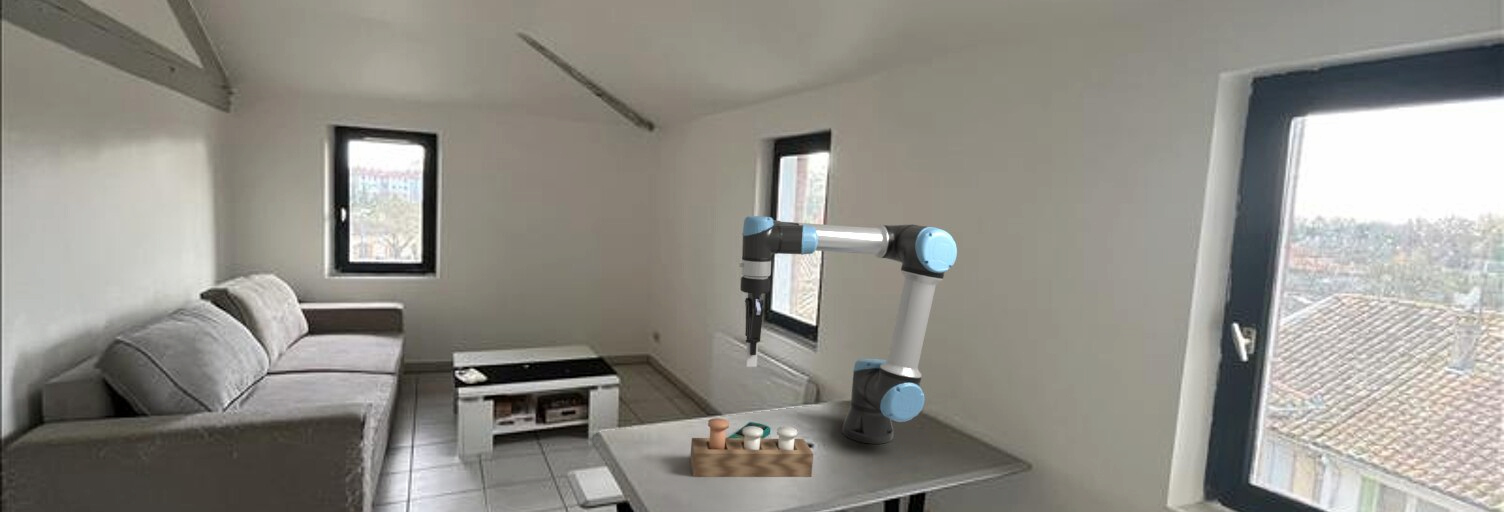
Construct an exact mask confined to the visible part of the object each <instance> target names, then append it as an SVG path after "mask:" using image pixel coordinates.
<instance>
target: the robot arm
mask: <svg viewBox="0 0 1504 512" xmlns="http://www.w3.org/2000/svg"><path fill="white" fill-rule="evenodd" d="M741 248H742V249H741V250H742V252H741V253H742V256H741V263H739V265H738V267H740V268H741V270H740V271H741V272H740V273H741V275H742V276H741V277H740V288H739V290H740V291H741V292H743V293H747V297H745V300H744V303H745V333H744V334H745V338H746V339H745V343H746V350H745V351H746V352H745V353H746V355H745V367H746V368H757V367H758V354H759V353H758V351H759V350H758V349H759V343H760V342H761V334H762V328H763V327H762V325H763V316H764V311H765V308H764V300H763V299H762V294H763V295H764V294H767V293H769V292H770V288H771V278H770V276H771V273H772V255H773V254H774V255H779V254H780V255H781V254H782V255H783V254H784V255H789V254H790V255H802V256H803V255H811V254H814V253H815V251H817V252H833V253H834V252H835V253H836V252H837V253H848V254H849V253H852V254H866V255H874V256H875V258H878V259H887V260H892V261H896V262H899V263H901V268H900V272H901V274H902V275H903V278H904V280H903V285H902V288H901V289H902V290H901V295H900V298H899V304H898V308H897V313H896V318H895V322H894V327H893V331H892V336H891V340H890V345H889V350H888V354H887V357H886V359H880V358H860V359H858V360H856V361H855V363H854V368H853V370H852V373H853V375H852V384H851V385H852V387H851V396H850V397H851V399H850V405H849V406H850V407H849V409H848V411H847V414H846V417H845V418H844V420H843V423H842V429H841V430H842V434H843V435H844V436H845V437H847V438H848V439H850V440H853V441H856V442H860V443H865V444H872V445H873V444H874V445H876V444H877V445H879V444H882V445H883V444H886V443H890V442H892V441H893V439H894V427H893V423H892V421H895V422H897V423H904V422H908V421H911V420H913V418H915V417H917V416H918V415H919V414H920V413H921V412H922V410H923V408H924V405H925V400H926V399H925V398H926V397H925V394H924V392H923V390H922V387H920V385H921V380H922V373H921V372H920V370H919V369H918V368H919V363H920V360H921V355H922V350H923V345H924V340H925V335H926V332H927V327H928V324H929V323H928V322H929V318H930V312H931V309H932V304H933V299H934V295H935V290H936V287H937V284H938V283H940V282H942V281H943V280H944V276H945V272H947V271H949V270H950V268H952V267H953V266H954V264H955V262H956V260H957V255H958V249H957V244H956V241H955V240H954V238H953V236H952V235H951V234H950V233H949V232H947V231H946V230H943V229H940V228H938V227H933V226H925V225H918V224H894V225H893V224H891V225H889V224H888V225H887V224H886V225H883V224H878V225H877V226H876V227H867V226H866V227H864V226H850V225H836V224H821V223H810V222H809V223H806V222H793V221H792V222H791V221H790V222H789V221H781V220H777V219H776V220H774V218H773V217H770V216H761V215H749V216H746V217H745V218H744V220H743V226H742V246H741Z"/></svg>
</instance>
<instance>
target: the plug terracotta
mask: <svg viewBox="0 0 1504 512" xmlns="http://www.w3.org/2000/svg"><path fill="white" fill-rule="evenodd" d="M707 426H708V427H709V438H710V439H709V449H719V450H725V438H726V435H727V429H728V428H729V426H730V422H729V421H728V419H725V418H718V417H716V418H711V419H709V420H708V423H707Z"/></svg>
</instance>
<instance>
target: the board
mask: <svg viewBox="0 0 1504 512" xmlns="http://www.w3.org/2000/svg"><path fill="white" fill-rule="evenodd" d="M709 439H710V437H691V443H690V444H691V445H690V456H689V457H690V458H689V460H690V466H691V471H692V476H693V478H694V477H695V478H696V477H697V478H701V477H702V478H703V477H704V478H705V477H706V478H716V477H717V478H719V477H720V478H724V477H725V478H727V477H728V478H732V477H733V478H737V477H738V478H739V477H740V478H745V477H747V478H756V477H757V478H758V477H759V478H763V477H765V478H773V477H774V478H775V477H776V478H777V477H778V478H780V477H781V478H782V477H783V478H785V477H787V478H788V477H790V478H793V477H794V478H798V477H799V478H803V477H804V478H809V477H810V478H811V477H812V475H813V474H812V473H813V464H814V463H813V462H814V453H813V451H812V450H811V448H810V446H809V444H808V443H807V442H806V440H805V439H804V438H794V450H778V443H779V438H764V439H762V438H760V447H759V450H744V439H745V438H729V437H725V450H719V449H709Z"/></svg>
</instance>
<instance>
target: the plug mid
mask: <svg viewBox="0 0 1504 512" xmlns="http://www.w3.org/2000/svg"><path fill="white" fill-rule="evenodd" d="M743 427H744V426H743ZM743 435H745V439H744V450H759V447H760V437H761V436H762V435H763V429H761V428H759V427H755V426H748V427H744V428H743Z"/></svg>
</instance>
